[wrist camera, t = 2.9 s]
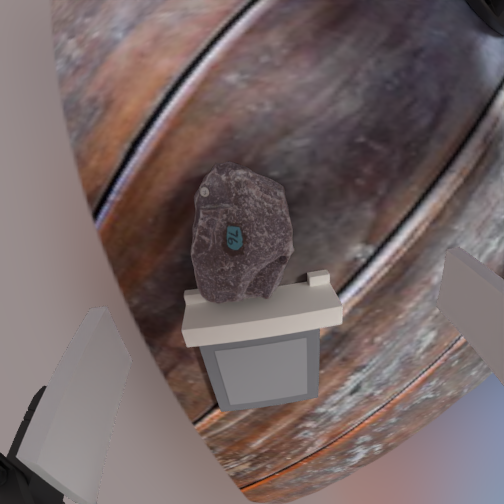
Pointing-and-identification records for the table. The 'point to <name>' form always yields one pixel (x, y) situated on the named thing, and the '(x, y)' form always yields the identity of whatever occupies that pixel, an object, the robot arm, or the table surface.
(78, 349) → the robot arm
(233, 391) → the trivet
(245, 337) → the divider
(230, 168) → the rock
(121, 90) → the table surface
